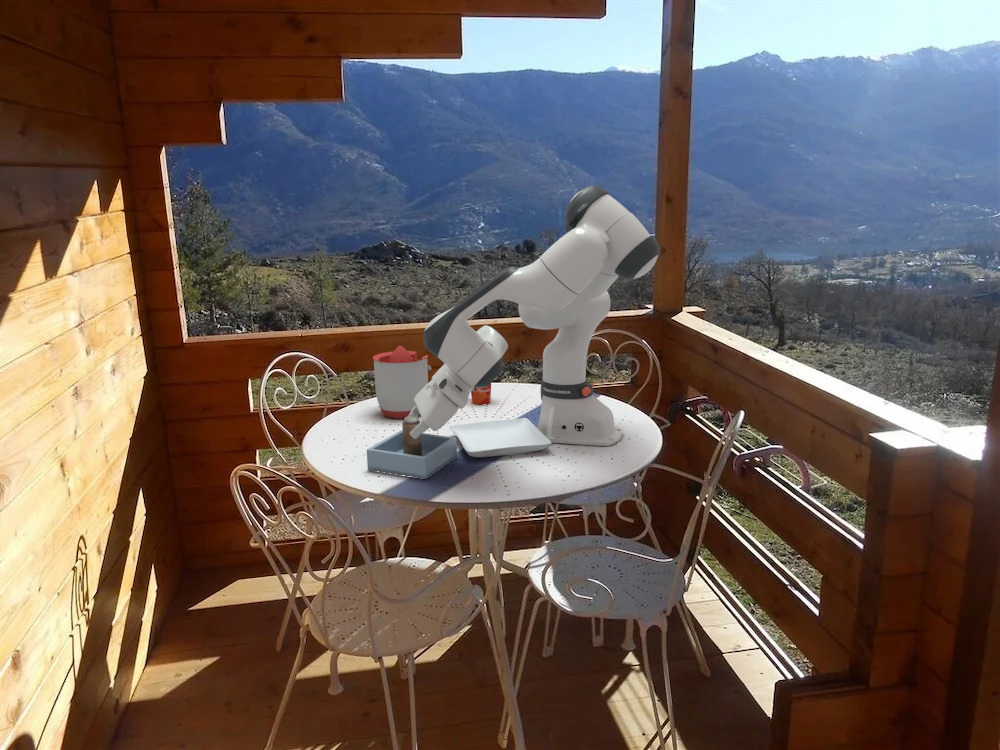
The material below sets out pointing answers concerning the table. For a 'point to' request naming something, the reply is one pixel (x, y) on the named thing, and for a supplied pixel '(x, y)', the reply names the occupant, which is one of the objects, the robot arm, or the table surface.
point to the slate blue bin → (394, 460)
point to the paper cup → (481, 395)
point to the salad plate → (500, 437)
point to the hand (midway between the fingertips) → (409, 429)
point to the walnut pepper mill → (409, 442)
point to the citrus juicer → (399, 380)
